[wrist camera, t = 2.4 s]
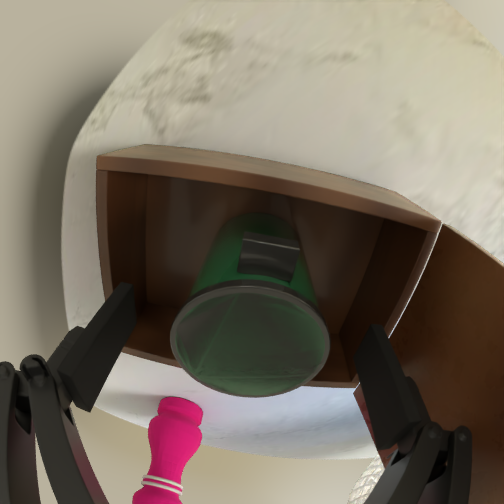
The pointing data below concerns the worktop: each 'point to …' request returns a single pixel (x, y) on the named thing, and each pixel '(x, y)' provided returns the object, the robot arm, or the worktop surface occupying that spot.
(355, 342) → the chest
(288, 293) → the green pot
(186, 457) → the pepper mill
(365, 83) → the worktop surface
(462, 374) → the lid
